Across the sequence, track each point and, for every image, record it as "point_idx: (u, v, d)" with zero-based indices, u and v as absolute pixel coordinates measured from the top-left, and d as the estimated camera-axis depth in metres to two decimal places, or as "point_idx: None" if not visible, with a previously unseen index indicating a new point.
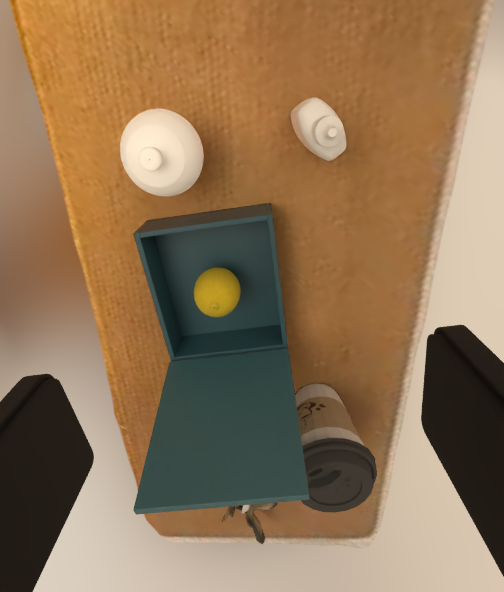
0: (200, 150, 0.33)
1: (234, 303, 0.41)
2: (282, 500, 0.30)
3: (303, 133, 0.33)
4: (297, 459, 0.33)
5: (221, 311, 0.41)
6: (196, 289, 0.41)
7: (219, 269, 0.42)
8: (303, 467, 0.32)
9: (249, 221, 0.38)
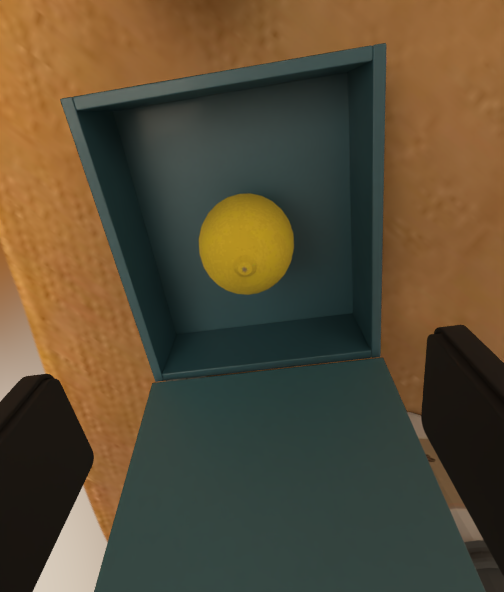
0: None
1: (285, 263, 0.19)
2: None
3: None
4: None
5: (260, 279, 0.19)
6: (204, 233, 0.19)
7: (252, 194, 0.20)
8: None
9: (330, 64, 0.16)
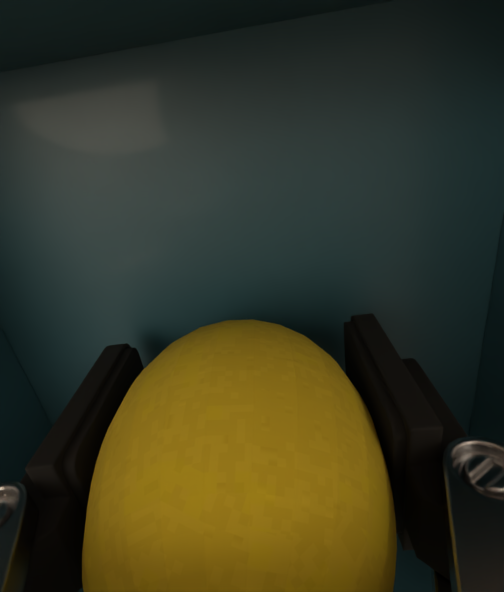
0: None
1: None
2: None
3: None
4: None
5: None
6: (89, 517, 0.05)
7: (259, 346, 0.06)
8: None
9: None
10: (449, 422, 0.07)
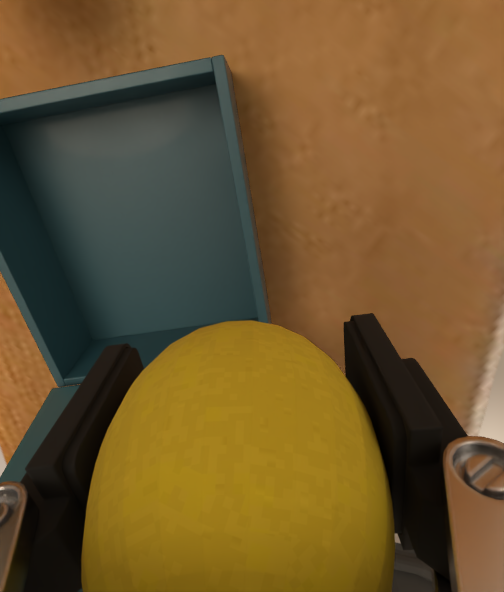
0: None
1: None
2: None
3: None
4: None
5: None
6: (89, 518, 0.05)
7: (258, 347, 0.06)
8: None
9: (173, 75, 0.17)
10: (449, 423, 0.07)
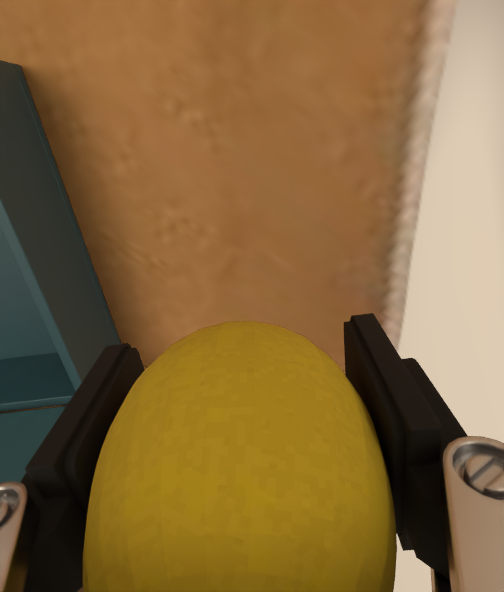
0: None
1: None
2: None
3: None
4: None
5: None
6: (90, 519, 0.05)
7: (259, 348, 0.06)
8: None
9: None
10: (449, 422, 0.07)
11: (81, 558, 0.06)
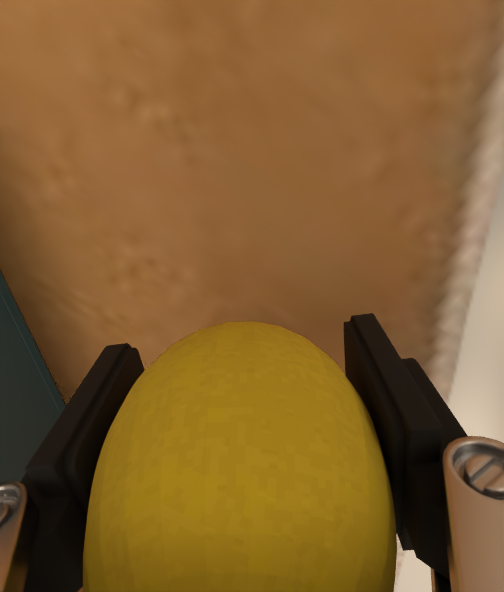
0: None
1: None
2: None
3: None
4: None
5: None
6: (90, 519, 0.05)
7: (259, 348, 0.06)
8: None
9: None
10: (448, 423, 0.07)
11: (81, 558, 0.06)
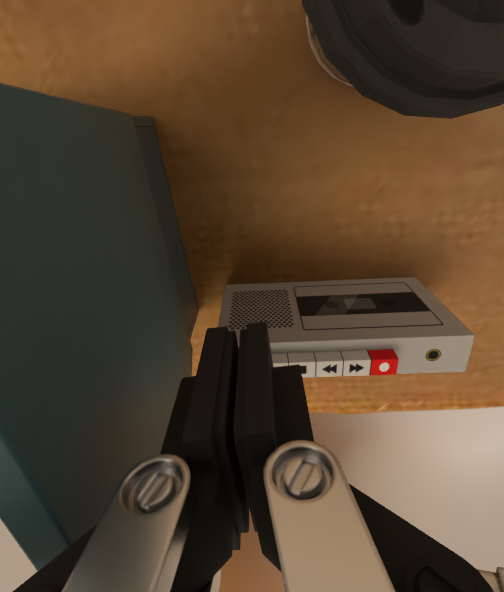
0: None
1: None
2: None
3: None
4: None
5: None
6: None
7: None
8: None
9: None
10: (302, 426, 0.07)
11: (227, 531, 0.07)
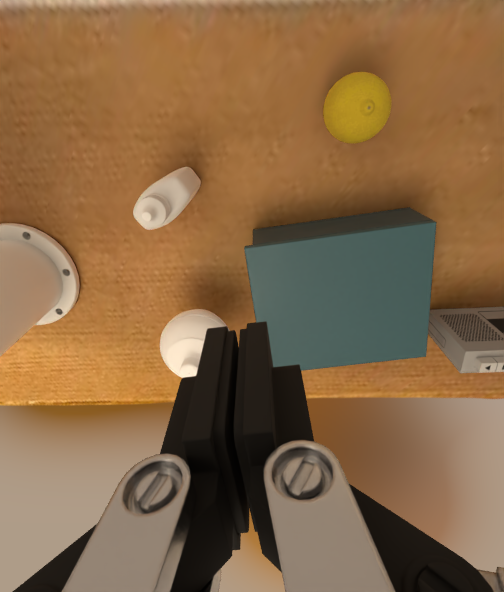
0: (187, 318, 0.36)
1: (370, 77, 0.28)
2: None
3: (165, 224, 0.32)
4: None
5: (378, 96, 0.28)
6: (344, 137, 0.31)
7: (324, 105, 0.32)
8: None
9: None
10: (302, 426, 0.07)
11: (227, 531, 0.07)
